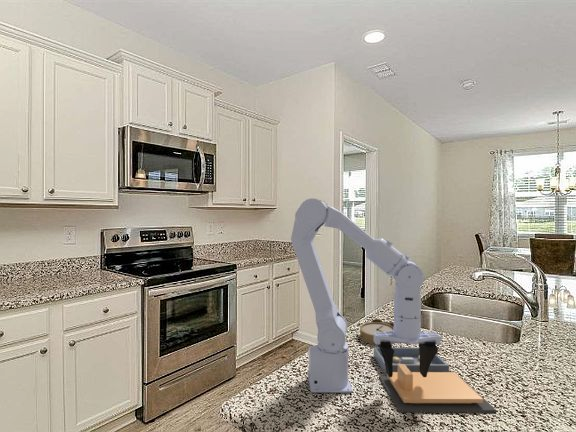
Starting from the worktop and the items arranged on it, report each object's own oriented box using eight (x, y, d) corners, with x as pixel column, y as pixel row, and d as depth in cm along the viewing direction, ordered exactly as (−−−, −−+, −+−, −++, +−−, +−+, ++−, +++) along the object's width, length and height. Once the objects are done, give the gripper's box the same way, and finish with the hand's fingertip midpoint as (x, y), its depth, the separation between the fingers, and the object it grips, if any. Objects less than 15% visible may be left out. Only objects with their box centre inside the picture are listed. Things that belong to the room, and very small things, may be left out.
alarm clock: (352, 330, 107) (375, 312, 118) (354, 344, 108) (376, 325, 119) (385, 339, 100) (405, 319, 110) (386, 355, 100) (406, 333, 111)
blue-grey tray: (385, 375, 83) (385, 365, 83) (373, 356, 94) (373, 347, 94) (448, 375, 84) (449, 365, 84) (429, 356, 95) (429, 347, 95)
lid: (403, 406, 69) (404, 382, 69) (386, 378, 81) (386, 357, 81) (483, 406, 69) (483, 382, 69) (454, 378, 81) (454, 357, 81)
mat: (399, 412, 68) (399, 409, 68) (379, 378, 82) (379, 376, 82) (496, 412, 68) (496, 410, 68) (459, 378, 82) (460, 376, 82)
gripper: (380, 320, 71) (379, 384, 71) (447, 320, 71) (447, 384, 71) (371, 310, 78) (370, 368, 78) (433, 311, 78) (432, 368, 78)
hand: (406, 375), depth 75 cm, fingers open, 7 cm apart
